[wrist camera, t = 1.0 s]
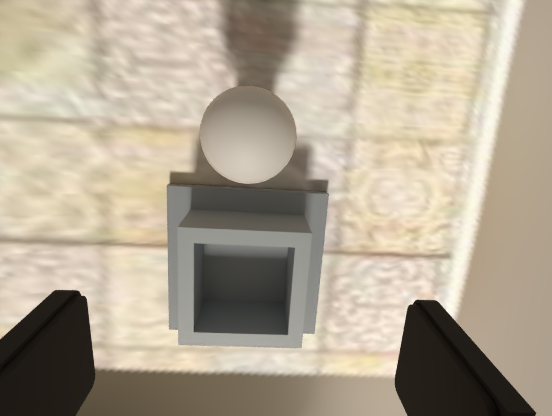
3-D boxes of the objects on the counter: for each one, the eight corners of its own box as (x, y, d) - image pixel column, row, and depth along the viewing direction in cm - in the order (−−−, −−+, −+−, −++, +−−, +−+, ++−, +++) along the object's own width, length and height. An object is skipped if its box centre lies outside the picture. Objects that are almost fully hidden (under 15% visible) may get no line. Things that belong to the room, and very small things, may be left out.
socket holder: (169, 183, 31) (148, 199, 25) (326, 191, 32) (341, 208, 26) (171, 323, 35) (154, 365, 29) (312, 327, 35) (323, 369, 30)
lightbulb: (301, 122, 30) (323, 126, 20) (260, 179, 31) (260, 213, 21) (242, 77, 29) (231, 56, 18) (201, 138, 30) (170, 152, 20)
